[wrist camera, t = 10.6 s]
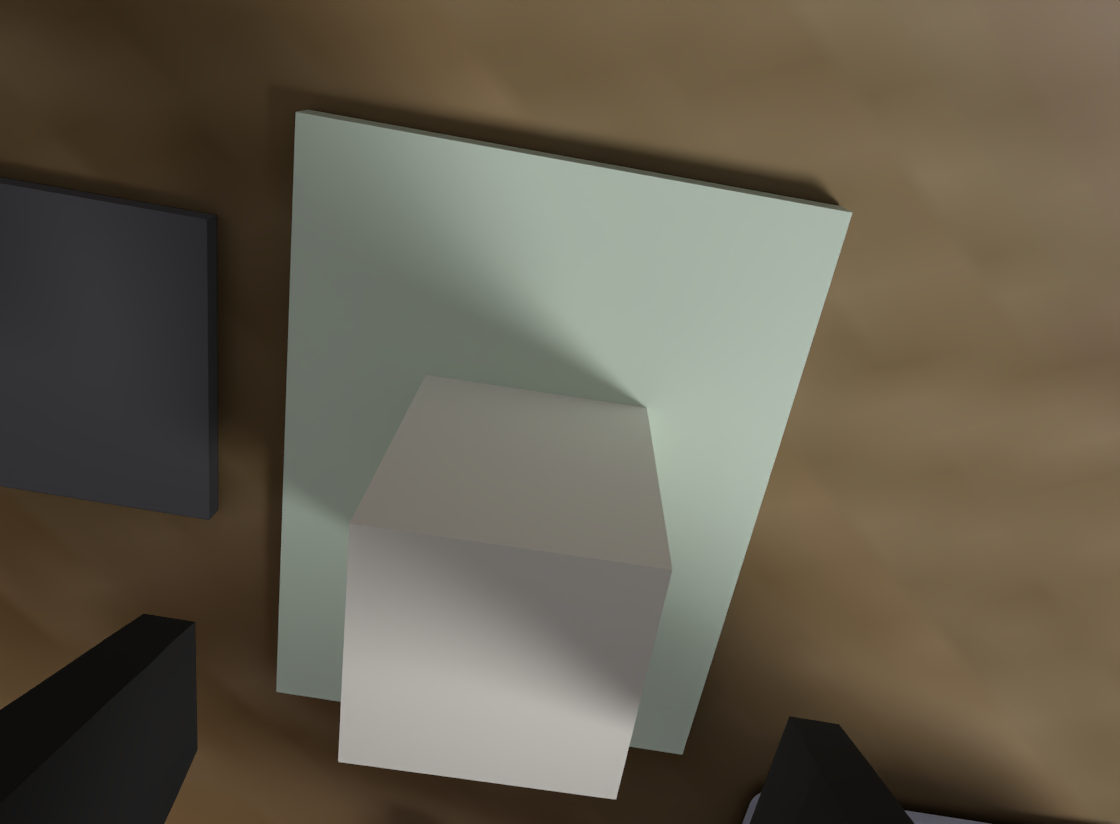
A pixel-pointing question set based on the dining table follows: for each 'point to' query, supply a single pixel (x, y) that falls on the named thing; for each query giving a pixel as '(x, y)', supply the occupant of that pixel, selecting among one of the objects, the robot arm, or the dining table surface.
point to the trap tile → (108, 349)
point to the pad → (539, 350)
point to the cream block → (504, 590)
